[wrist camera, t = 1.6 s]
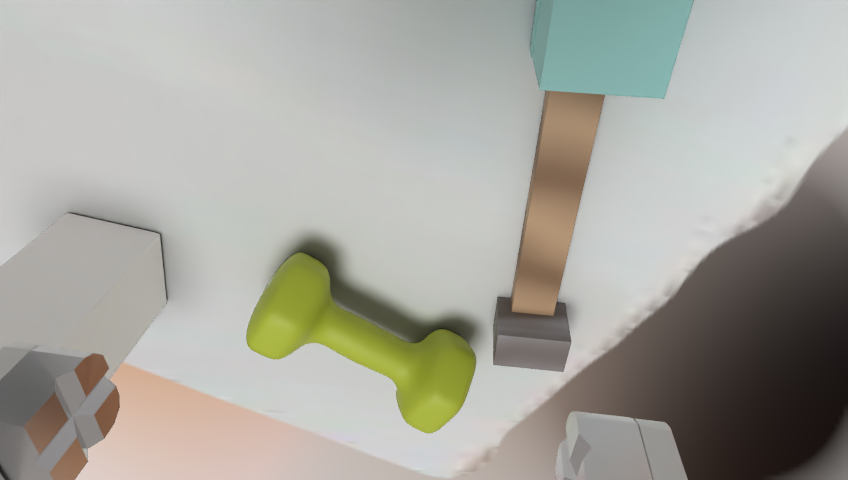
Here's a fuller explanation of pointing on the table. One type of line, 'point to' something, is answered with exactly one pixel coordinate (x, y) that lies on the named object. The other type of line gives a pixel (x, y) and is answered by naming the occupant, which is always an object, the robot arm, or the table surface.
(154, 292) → the milk carton
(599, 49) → the block
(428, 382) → the dumbbell
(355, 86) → the table surface
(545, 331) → the rail
